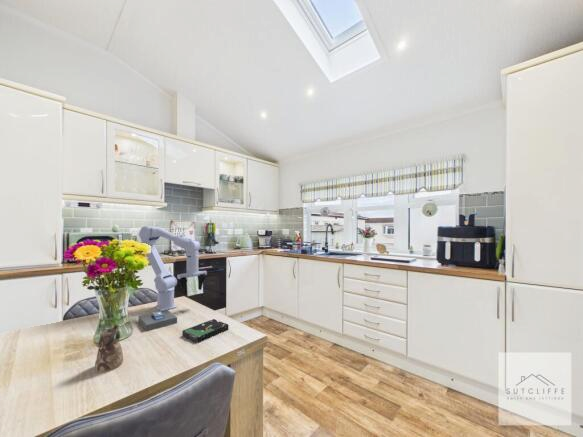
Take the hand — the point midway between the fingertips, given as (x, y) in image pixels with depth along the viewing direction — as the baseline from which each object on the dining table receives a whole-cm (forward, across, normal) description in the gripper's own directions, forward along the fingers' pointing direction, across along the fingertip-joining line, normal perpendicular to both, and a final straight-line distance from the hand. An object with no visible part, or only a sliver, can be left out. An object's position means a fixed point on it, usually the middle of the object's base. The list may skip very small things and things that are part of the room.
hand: (192, 290), depth 129 cm
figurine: (+10, -39, -33) cm, 52 cm away
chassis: (+9, -18, -6) cm, 21 cm away
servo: (+10, -18, -6) cm, 21 cm away
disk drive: (+10, -7, -31) cm, 34 cm away
